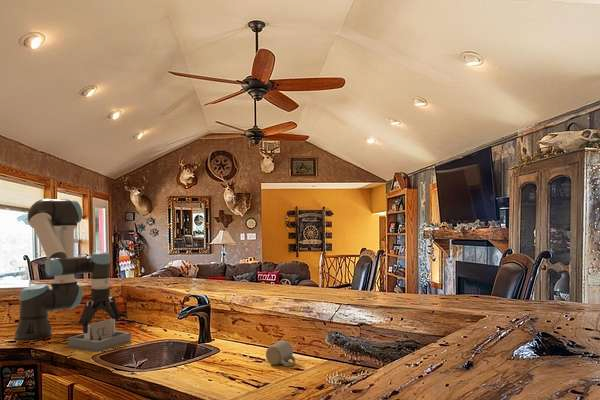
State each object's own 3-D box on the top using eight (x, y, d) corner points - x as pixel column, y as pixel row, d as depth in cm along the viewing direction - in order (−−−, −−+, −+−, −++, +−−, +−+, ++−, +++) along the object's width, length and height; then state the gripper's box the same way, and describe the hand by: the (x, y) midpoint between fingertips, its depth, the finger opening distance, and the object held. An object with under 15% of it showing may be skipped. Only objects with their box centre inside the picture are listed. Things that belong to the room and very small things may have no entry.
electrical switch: (94, 345, 200) (93, 323, 201) (87, 345, 202) (86, 323, 203) (113, 340, 208) (112, 319, 209) (105, 340, 211) (104, 319, 212)
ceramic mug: (264, 364, 175) (264, 343, 176) (276, 358, 182) (277, 338, 183) (287, 369, 170) (288, 348, 170) (300, 363, 177) (300, 342, 177)
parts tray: (67, 347, 201) (67, 337, 201) (101, 337, 217) (101, 328, 217) (97, 352, 193) (98, 342, 193) (130, 341, 209) (130, 332, 210)
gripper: (82, 292, 193) (81, 344, 192) (128, 284, 216) (128, 331, 215) (69, 291, 197) (69, 342, 196) (116, 283, 219) (116, 329, 218)
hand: (100, 336), depth 205 cm, fingers open, 13 cm apart
